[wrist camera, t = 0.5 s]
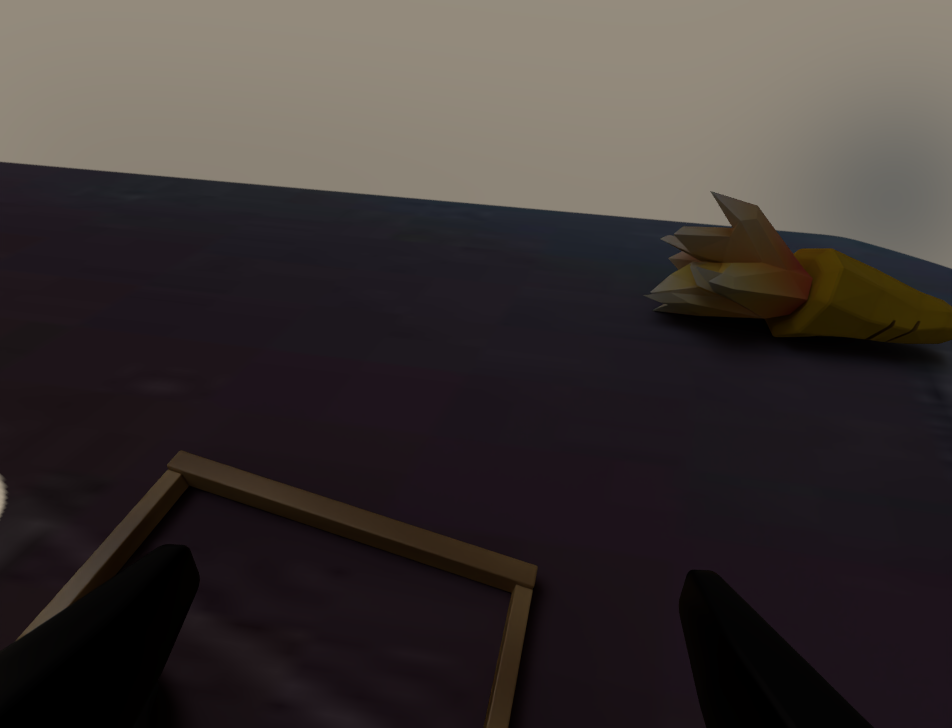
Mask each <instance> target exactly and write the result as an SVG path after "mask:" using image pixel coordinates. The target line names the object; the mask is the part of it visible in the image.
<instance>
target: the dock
mask: <svg viewBox="0 0 952 728" xmlns="http://www.w3.org/2000/svg"><path fill="white" fill-rule="evenodd" d="M167 467H168V469H169V470H167V471H166V472H165V473H164V474H163V476H162V477H161V478H160V479H159V480H158V481H157V482H156V483H155V485H154V486H153V487H152V488H151V489H150V490H149V491H148V492H147V494H146V495H145V496H144V497H143V498H142V499H141V500H140V501H139V503H138V504H137V505H136V506H135V507H134V508H133V509H132V510H131V512H130V513H129V514H128V515H127V516H126V517H125V518H124V519H123V521H122V522H121V523H120V524H119V525H118V526H117V527H116V528H115V530H114V531H113V532H112V533H111V534H110V535H109V536H108V537H107V539H106V540H105V541H104V542H103V543H102V544H101V545H100V546H99V548H98V549H97V550H96V551H95V552H94V553H93V554H92V556H91V557H90V558H89V559H88V560H87V561H86V562H85V563H84V565H83V566H82V567H81V568H80V569H79V570H78V571H77V572H76V574H75V575H74V576H73V577H72V578H71V579H70V580H69V581H68V583H67V584H66V585H65V586H64V587H63V588H62V589H61V590H60V592H59V593H58V594H57V595H56V596H55V597H54V598H53V599H52V601H51V602H50V603H49V604H48V605H47V606H46V607H45V608H44V610H43V611H42V612H41V613H40V614H39V615H38V616H37V617H36V619H35V620H34V621H33V622H32V623H31V624H30V625H29V626H28V628H27V629H26V630H25V631H24V632H23V633H22V634H21V635H20V637H19V638H18V639H20V638H21V637H23V636H24V635H26V634H27V633H29V632H30V631H32V630H33V629H35V628H36V627H38V626H39V625H41V624H42V623H44V622H46V621H47V620H49V619H50V618H52V617H53V616H55V615H56V614H58V613H59V612H61V611H62V610H64V609H65V608H67V607H68V606H70V605H71V604H73V603H74V602H76V601H77V600H79V599H80V598H82V597H83V596H85V595H87V594H88V593H90V592H91V591H93V590H94V589H96V588H97V587H99V586H100V585H102V584H103V583H105V582H106V581H108V580H109V579H111V578H112V577H114V576H115V575H116V574H117V573H118V572H119V570H120V569H121V568H122V567H123V566H124V564H125V563H126V562H127V561H128V559H129V558H130V557H131V556H132V555H133V553H134V552H135V551H136V550H137V549H138V547H139V546H140V545H141V544H142V542H143V541H144V540H145V539H146V538H147V536H148V535H149V534H150V533H151V532H152V530H153V529H154V528H155V527H156V525H157V524H158V523H159V522H160V521H161V519H162V518H163V517H164V516H165V515H166V513H167V512H168V511H169V510H170V508H171V507H172V506H173V505H174V504H175V502H176V501H177V500H178V499H179V498H180V496H181V495H182V494H183V493H184V492H185V490H186V489H187V488H188V485H189V486H192V487H195V488H198V489H201V490H204V491H207V492H210V493H213V494H216V495H219V496H222V497H225V498H228V499H231V500H234V501H237V502H240V503H243V504H246V505H249V506H252V507H255V508H258V509H261V510H264V511H267V512H270V513H273V514H276V515H279V516H282V517H285V518H288V519H291V520H294V521H297V522H300V523H303V524H306V525H309V526H312V527H315V528H318V529H321V530H324V531H327V532H330V533H333V534H336V535H339V536H342V537H346V538H349V539H352V540H355V541H358V542H361V543H364V544H367V545H370V546H373V547H376V548H379V549H382V550H385V551H388V552H391V553H394V554H397V555H400V556H403V557H406V558H409V559H412V560H415V561H418V562H421V563H424V564H427V565H430V566H433V567H436V568H439V569H442V570H445V571H448V572H451V573H454V574H457V575H460V576H463V577H466V578H469V579H472V580H475V581H478V582H481V583H484V584H487V585H490V586H493V587H496V588H499V589H502V590H505V591H508V592H511V593H512V594H511V599H510V603H509V608H508V613H507V618H506V622H505V627H504V632H503V637H502V642H501V646H500V651H499V656H498V661H497V665H496V670H495V675H494V680H493V684H492V689H491V694H490V699H489V703H488V708H487V713H486V718H485V723H484V727H483V728H508V726H509V721H510V715H511V710H512V704H513V698H514V693H515V687H516V682H517V676H518V670H519V665H520V659H521V654H522V648H523V642H524V637H525V631H526V626H527V620H528V615H529V609H530V603H531V598H532V592H533V590H532V589H533V588H534V586H535V580H536V575H537V569H538V567H537V566H536V565H533V564H530V563H526V562H523V561H520V560H517V559H514V558H511V557H508V556H505V555H502V554H499V553H496V552H493V551H489V550H486V549H483V548H480V547H477V546H474V545H471V544H468V543H465V542H462V541H459V540H456V539H453V538H449V537H446V536H443V535H440V534H437V533H434V532H431V531H428V530H425V529H422V528H419V527H416V526H412V525H409V524H406V523H403V522H400V521H397V520H394V519H391V518H388V517H385V516H382V515H379V514H375V513H372V512H369V511H366V510H363V509H360V508H357V507H354V506H351V505H348V504H345V503H342V502H339V501H335V500H332V499H329V498H326V497H323V496H320V495H317V494H314V493H311V492H308V491H305V490H302V489H298V488H295V487H292V486H289V485H286V484H283V483H280V482H277V481H274V480H271V479H268V478H265V477H262V476H258V475H255V474H252V473H249V472H246V471H243V470H240V469H237V468H234V467H231V466H228V465H225V464H221V463H218V462H215V461H212V460H209V459H206V458H203V457H200V456H197V455H194V454H191V453H188V452H184V451H181V450H180V451H179V452H178V453H177V454H176V456H175V457H174V458H173V459H172V460H171V461H170V462H169V463H168V464H167ZM18 639H17V640H18ZM17 640H16V641H17Z"/></svg>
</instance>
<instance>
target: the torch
mask: <svg viewBox="0 0 952 728" xmlns="http://www.w3.org/2000/svg"><path fill="white" fill-rule="evenodd" d="M711 193H712V194H713V196H714V198H715V199H716V201H717V202H718V204H719V206H720V207H721V209H722V211H723V212H724V214H725V216H726V217H727V219H728V221H729V222H730V224H731V225H732V227H733V228H717V227H682V228H681V229H680V230H678V231H677V232H676V233H675V234H674V235H675V236H671V235H668V236H666V237H663V238H661V240H663V241H665V242H667V243H669V244H670V245H672V246H674V247H676V248H678V249H680V250H681V251H682V252H680V253H678V254H676V255H674V256H672V257H670V258H669V260H670V261H671V262H672V263H673V264H674V265H675V266H676V267H677V269H678V271H676V272H674V273H673V274H671V275H670V276H668V277H667V278H666V279H665V280H663V281H662V282H661V283H660V284H659V285H657V287H656V288H655V289H653V290H652V291H651V292H650V293H652V294H651V295H643V296H646V297H648V298H651V299H653V300H655V301H658V302H660V303H664V304H663V305H661V306H659V307H658V308H656V309H654V310H653V311H661V312H669V313H678V314H686V315H694V316H717V317H741V318H764V319H765V321H766V323H767V325H768V327H769V329H770V331H771V333H772V335H773V336H774V337H811V336H835V337H849V338H857V339H865V340H872V341H880V342H891V343H904V344H939V343H943V342H946V341H949V340H952V306H950V305H949V304H947V303H946V302H945V301H943V300H941V299H938V298H935V297H933V296H930V295H927V294H925V293H922V292H920V291H918V290H916V289H914V288H912V287H910V286H908V285H906V284H904V283H902V282H900V281H898V280H896V279H894V278H892V277H890V276H889V275H887V274H885V273H883V272H881V271H879V270H877V269H875V268H873V267H871V266H868V265H866V264H864V263H862V262H860V261H858V260H855V259H853V258H851V257H849V256H847V255H845V254H843V253H841V252H838V251H836V250H834V249H800V250H798V251H797V252H795V253H794V254H793V253H792V252H791V251H790V249H789V248H788V247H787V245H786V244H785V242H784V241H783V240H782V238H781V237H780V236H779V234H778V233H777V232H776V230H775V229H774V227H773V226H772V225H771V223H770V222H769V221H768V219H767V218H766V217H765V215H764V214H763V213H762V211H761V210H760V208H759V207H758V206H757V205H753V204H750V203H747V202H743V201H741V200H737V199H734V198H731V197H728V196H724V195H721V194H718V193H715V192H711Z"/></svg>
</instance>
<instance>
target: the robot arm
mask: <svg viewBox="0 0 952 728" xmlns="http://www.w3.org/2000/svg"><path fill="white" fill-rule="evenodd" d="M199 581H200V576H199V572H198V569H197V567H196V564H195V561H194V559H193V556H192V553H191V551H190V549H189V548H188V547H187V546H185V545H174V544H166V545H162V546H160V547H158V548H156V549H155V550H153V551H152V552H150V553H149V554H147V555H146V556H144V557H143V558H141V559H140V560H138V561H137V562H135V563H134V564H132V565H131V566H129V567H128V568H126V569H124V570H123V571H121V572H120V573H118V574H117V575H115V576H114V577H112V578H111V579H109V580H108V581H106V582H105V583H103V584H102V585H100V586H99V587H97V588H96V589H94V590H93V591H91V592H90V593H88V594H87V595H85V596H83V597H82V598H80V599H79V600H77V601H76V602H74V603H73V604H71V605H70V606H68V607H67V608H65V609H64V610H62V611H61V612H59V613H58V614H56V615H55V616H53V617H52V618H50V619H49V620H47V621H46V622H44V623H42V624H41V625H39V626H38V627H36V628H35V629H33V630H32V631H30V632H29V633H27V634H26V635H24V636H23V637H21V638H20V639H18V640H17V641H15V642H14V643H12V644H11V645H9V646H8V647H6V648H5V649H3V650H1V651H0V728H133V726H134V724H135V723H136V721H137V719H138V717H139V715H140V713H141V711H142V710H143V708H144V706H145V704H146V702H147V700H148V698H149V697H150V695H151V693H152V691H153V689H154V687H155V685H156V683H157V681H158V679H159V677H160V675H161V673H162V671H163V669H164V666H165V664H166V662H167V660H168V657H169V655H170V653H171V650H172V648H173V646H174V643H175V641H176V639H177V636H178V634H179V632H180V629H181V627H182V625H183V622H184V620H185V618H186V615H187V613H188V611H189V608H190V606H191V604H192V601H193V599H194V597H195V594H196V592H197V590H198V586H199ZM679 614H680V619H681V623H682V628H683V632H684V637H685V641H686V646H687V650H688V655H689V659H690V664H691V668H692V673H693V677H694V682H695V686H696V691H697V695H698V699H699V703H700V707H701V711H702V714H703V718H704V721H705V724H706V728H874V727H873V726H872V725H871V724H870V723H869V722H868V721H867V720H865V719H864V718H863V717H862V716H861V715H860V714H859V713H858V712H857V711H856V710H855V709H854V708H853V707H852V706H851V705H850V704H849V703H848V702H847V701H846V700H845V699H844V698H843V697H842V696H841V695H840V694H839V693H838V692H837V691H836V690H835V689H834V688H833V687H832V686H831V685H830V684H829V683H828V682H827V681H826V680H825V679H824V678H823V677H822V676H821V675H820V674H819V673H818V672H817V671H816V670H815V669H814V668H813V667H812V666H811V665H810V664H809V663H808V662H807V661H806V660H805V659H803V658H802V657H801V656H800V655H799V654H798V653H797V652H796V651H795V650H794V649H793V648H792V647H791V646H790V645H789V644H788V643H787V642H786V641H785V640H784V639H783V638H782V637H781V636H780V635H779V634H778V633H777V632H776V631H775V630H774V629H773V628H772V627H771V626H770V625H769V624H768V623H767V622H766V621H765V620H764V619H763V618H762V617H761V616H760V615H759V614H758V613H757V612H756V611H755V610H754V609H753V608H752V607H751V606H750V605H749V604H748V603H747V602H746V601H745V600H744V599H743V598H742V597H740V596H739V595H738V594H737V593H736V592H735V591H734V590H733V589H732V588H731V587H730V586H729V585H728V584H727V583H726V582H725V581H724V580H723V579H722V578H721V577H720V576H719V575H718V574H717V573H715V572H713V571H709V570H691V571H689V572H688V574H687V576H686V579H685V583H684V586H683V589H682V592H681V596H680V599H679Z"/></svg>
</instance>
